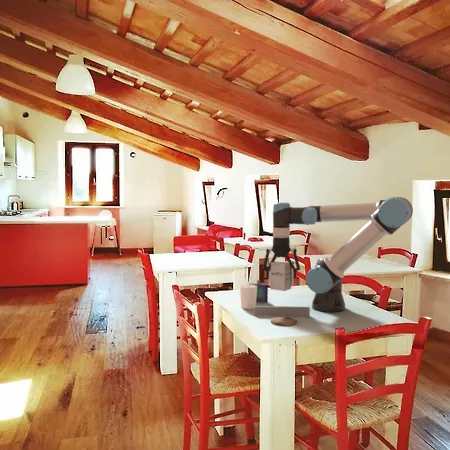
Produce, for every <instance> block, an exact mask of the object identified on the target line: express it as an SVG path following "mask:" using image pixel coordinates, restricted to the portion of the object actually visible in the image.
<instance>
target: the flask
mask: <svg viewBox="0 0 450 450" xmlns="http://www.w3.org/2000/svg"><path fill="white" fill-rule="evenodd" d="M248 285H256V286H257V298H256V303H265V304H266V303H268V301H269V299H268V298H269V297H268V296H269V295H268V293H269V291H268V290H269V284H267V283H265V282H261V280H260V279H258V280H256V283H253V282H252V283H249V284H248Z"/></svg>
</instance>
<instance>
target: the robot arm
mask: <svg viewBox="0 0 450 450" xmlns="http://www.w3.org/2000/svg"><path fill="white" fill-rule="evenodd" d="M272 210H273V211H272V236H273V238H272V247H271V248H269V247H267V248H266V249H265V253H266V254H265V257H264V260H263V263H262V270H263V271H264V272H265V273H266V274H265V277H266V279H268V287H271V262H274V261H276V259H277V258H286V260H287V261H288V262H289V263H290V265H291V267H292V270H291V287H294V282H295V281H294V279H296V278H297V272H298V271H300V270H301V267H300V263H299V260H298V256H297V251H298V250H297V248H291V246H290V245H291V244H290V243H291V242H290V241H291V240H290V235H291V233H290V232H291V231H290V230H291V229H290V227H291V226H290V225H306V226H309V225H315V224H316V223H321V222H322V223H323V222H324V223H325V222H326V223H330V222H355V221H356V222H357V221H368V222H367V223H365V225H364V226H362V228H360V229H359V230H358V231H357V232H356V233H355V234H353V236H352V237H350V238H349V239H348V240H347V241H346V242H345V243H344V244H343V245H342V246H341V247H340V248H339V249H337V250H336V251H335V252H334V253H333V254H332V255H331V256H329V257H328V256H325V257H323V258H318V259H317V260H316V265H314V266H313V267H311V268H310V269H309V270H308V271H307V273H306V276H305V282H306V285H307V287H308V288H309V289H310V291H312V292H314V293H315V294H314V297H313V299H312V302H311V307H312V309H314V310H316V311H319V312H325V313H326V312H327V313H340V312H343V311H346V302H345V299H344V295H343V291H342V290H343V278H344V277H345V272H346V271H347V270H348V269H349V268H350V267H351V266H352V265H354V264H355V263H356V262H357V261H358V260H359V259H361V257H363V256H364V255H365V254H366V253H367V252H368V251H369V250H371V249H372V248H373V247H374V246H375V245H376V244H378V242H379V241H381V240H382V239H383V238H384V237H385V236H392V235H393V234H394V233H396V232H397V230H399V229H401V227H402V226H403V225H405V224H406V223H407V222H408V221H409V220H411V218H412V217H413V212H414V209H413V205H412V203H411V202H410V201H409V200H408V199H407V198H405V197H401V196H394V197H393V196H392V197H388V198H387V199H381V200H378V201H377V202H365V203H363V202H362V203H348V204H347V203H345V204H329V205H309V206H303V207H297V206H295V207H292V206H291V204H290V203H289V202H275V203H273V209H272ZM271 252H273V255H272V258H271V260H270V261H269V264H268V266H267V263H268V260H269V256H270V254H271ZM290 252H291V254H292V255H293V259H294V262H295V265H296V267H295V265H294V264H293V262H292V260H291V258H290V256H289V253H290Z"/></svg>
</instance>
